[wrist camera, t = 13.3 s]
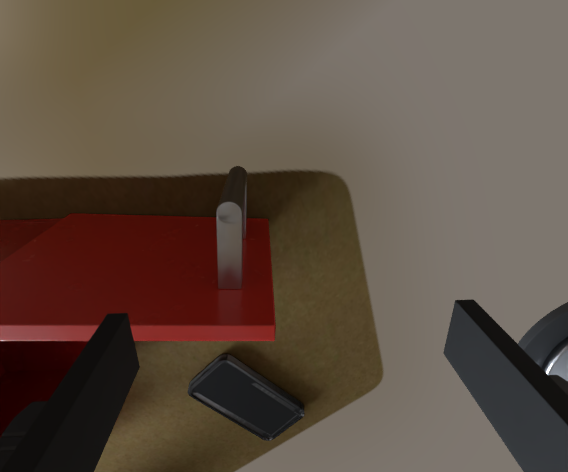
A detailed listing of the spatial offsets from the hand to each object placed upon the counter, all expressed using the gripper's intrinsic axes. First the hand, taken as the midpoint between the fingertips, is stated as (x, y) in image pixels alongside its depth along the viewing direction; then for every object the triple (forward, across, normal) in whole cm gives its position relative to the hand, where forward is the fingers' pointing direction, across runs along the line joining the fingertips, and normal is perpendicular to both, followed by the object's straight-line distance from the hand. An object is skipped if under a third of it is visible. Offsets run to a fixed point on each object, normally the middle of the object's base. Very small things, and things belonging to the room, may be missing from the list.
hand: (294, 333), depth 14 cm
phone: (+24, -4, -29) cm, 38 cm away
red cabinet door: (+23, -11, 0) cm, 25 cm away
